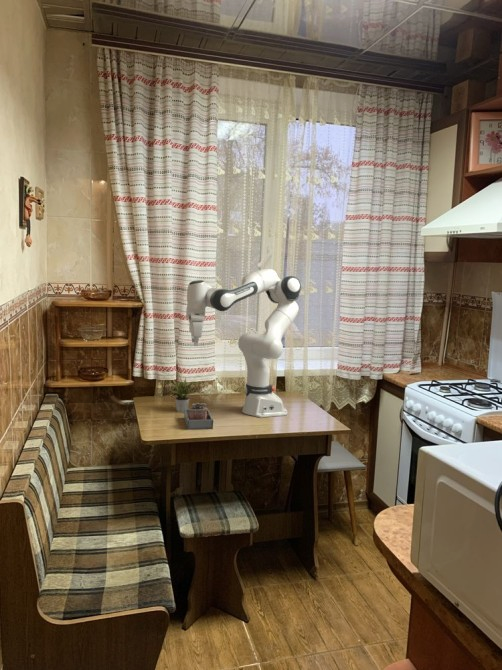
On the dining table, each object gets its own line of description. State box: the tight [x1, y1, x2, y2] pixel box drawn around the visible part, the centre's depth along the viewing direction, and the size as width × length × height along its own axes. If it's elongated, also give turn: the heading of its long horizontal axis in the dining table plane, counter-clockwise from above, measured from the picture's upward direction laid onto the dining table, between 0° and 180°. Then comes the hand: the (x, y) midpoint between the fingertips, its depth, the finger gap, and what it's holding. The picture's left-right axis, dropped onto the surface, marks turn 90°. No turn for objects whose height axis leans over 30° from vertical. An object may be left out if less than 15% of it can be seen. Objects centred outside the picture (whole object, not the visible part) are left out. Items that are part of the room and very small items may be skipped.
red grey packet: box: [188, 402, 208, 420], centre depth 235 cm, size 8×3×10 cm, turn 107°
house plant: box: [170, 377, 198, 413], centre depth 254 cm, size 14×14×16 cm
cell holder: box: [183, 408, 214, 431], centre depth 239 cm, size 11×16×4 cm
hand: (194, 344), depth 248 cm, fingers open, 8 cm apart
